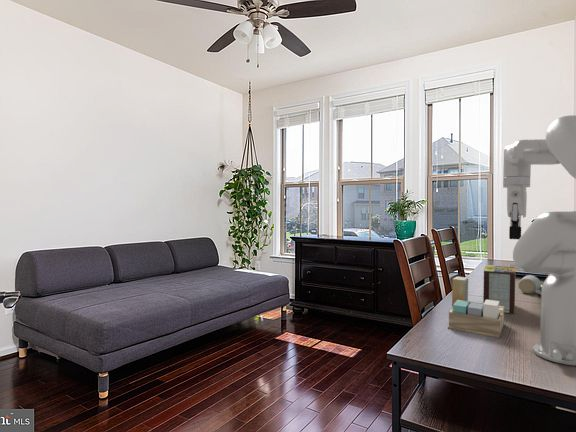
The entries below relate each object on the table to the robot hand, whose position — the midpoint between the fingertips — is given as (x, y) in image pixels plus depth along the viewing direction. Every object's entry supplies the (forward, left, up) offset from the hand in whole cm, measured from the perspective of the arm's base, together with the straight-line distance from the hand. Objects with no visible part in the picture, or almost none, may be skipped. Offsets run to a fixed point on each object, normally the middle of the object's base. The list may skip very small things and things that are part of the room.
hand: (515, 238), depth 119 cm
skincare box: (+12, +18, -29) cm, 36 cm away
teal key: (-8, +14, -27) cm, 31 cm away
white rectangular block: (-8, +6, -25) cm, 27 cm away
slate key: (-8, +10, -27) cm, 30 cm away
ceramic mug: (+61, -5, -29) cm, 68 cm away
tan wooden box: (-6, +10, -29) cm, 31 cm away
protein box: (+24, +6, -29) cm, 38 cm away
